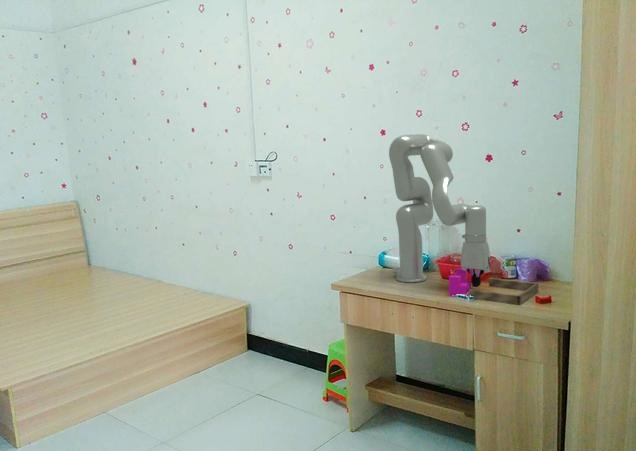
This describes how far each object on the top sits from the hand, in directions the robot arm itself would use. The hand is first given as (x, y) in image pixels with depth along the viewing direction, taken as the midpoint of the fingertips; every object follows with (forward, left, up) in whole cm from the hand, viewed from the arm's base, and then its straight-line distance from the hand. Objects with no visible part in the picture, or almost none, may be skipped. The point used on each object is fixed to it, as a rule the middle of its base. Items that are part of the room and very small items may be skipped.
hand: (476, 286), depth 212 cm
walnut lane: (+11, 0, -2) cm, 11 cm away
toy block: (-5, -3, -2) cm, 6 cm away
